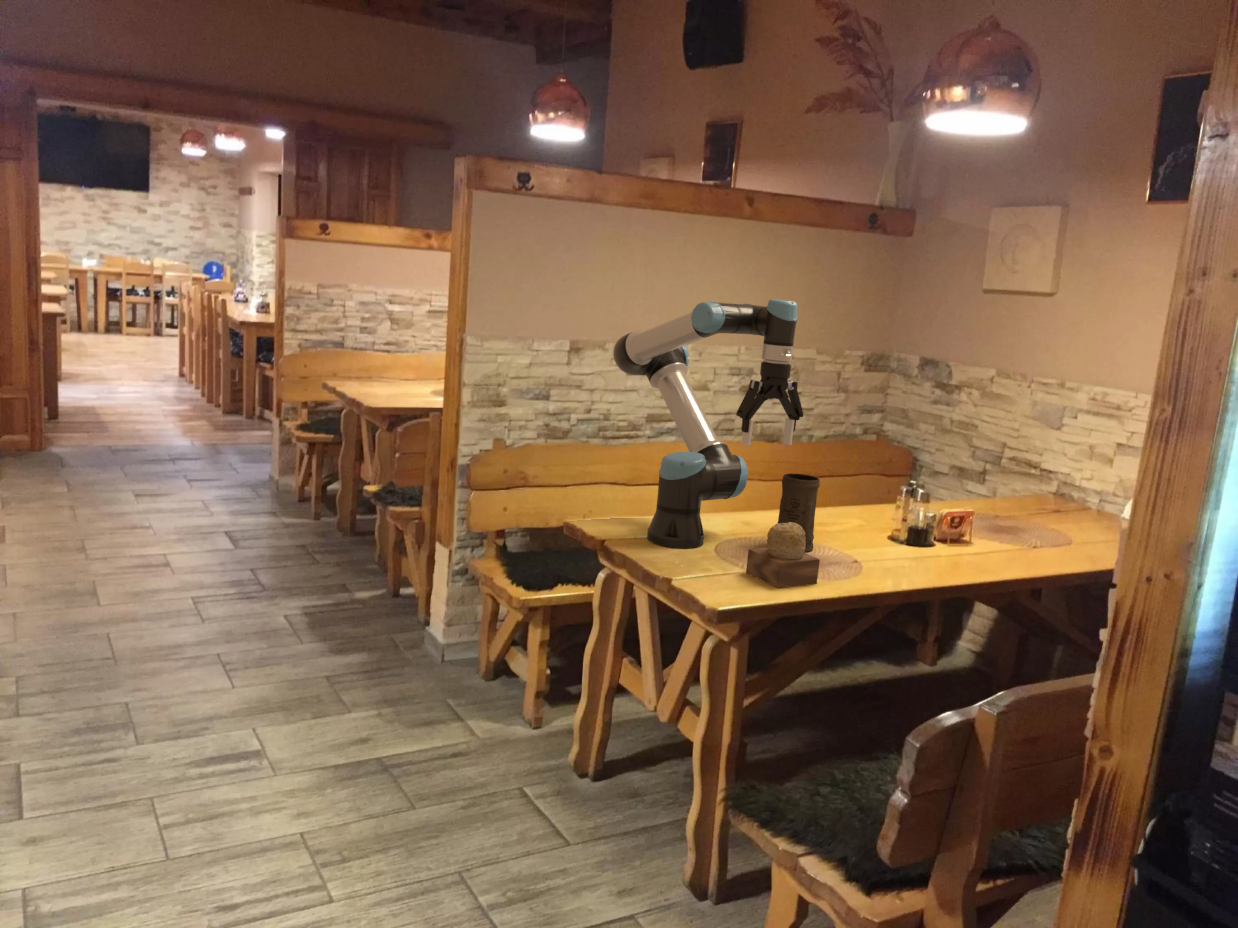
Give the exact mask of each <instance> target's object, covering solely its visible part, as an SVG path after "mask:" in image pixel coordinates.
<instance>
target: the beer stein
mask: <svg viewBox="0 0 1238 928" xmlns="http://www.w3.org/2000/svg"><path fill="white" fill-rule="evenodd" d="M820 486H821V483H820V478H819V477H817V476H813V475H811V474H801V473H784V474H783V476H782V479H781V489H782V490H781V498H780V503H779V511H778V518H777V523H788V522H792V523H796V524H798V525H800V526H801V527H802V528H803V530H804V532H805V537H806V546H805V551H804V553H809V552H811V551H813V550H814V543H813V541H814V539H815V535H814V531H815V529H814V528H815V516H816V508H817V507H816V506H817V500H818V497H817V496H818V491H819V488H820Z"/></svg>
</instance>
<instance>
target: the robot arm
mask: <svg viewBox="0 0 1238 928" xmlns="http://www.w3.org/2000/svg"><path fill="white" fill-rule="evenodd" d="M797 321H798V303H797V302H796V301H794V300H784V299H773V298H771V299H769V300H768V302H767V306H763V305H755V304H754V305H753V304H750V303H729V302H727V303H726V302H716V301H705V302H704V301H703V302H700V303H697V304H696V305H695V307H694V308H693V310H692V311H691V312H689V313H685V314H683V315H681V316H678V317H676V318H673V319H671V320H668V321H666V322H664V323H661V324H659V325H656V326H654V327H652V328H649V329H646V330H644V331H640V330H635V331H631V332H630V333H627V334H624V335H623V336H621V337H620V338H618V340H616V343H615V344H614V346H613V351H612V352H613V354H612V356H613V359H614V363H615V364H616V366H617V367H618V368H619V370H621V371H622V372H623V373H625V374H628V375H631V376H646V377H647V380H648V381H649V383H650V386H651V387H652V388H654V389H656V390H657V389H658V390H659V392H660V394H661V397H662V399H663V401H664V403H665V405H666V407H667V409H668V411H669V412H670V415H671V417H672V420H673V421H674V424H675V425H676V428H677V430H678V431H679V434H680V435H681V438H682V440H683V442H684V444H685V446H686V448H687V450H688V451H676V452H671V453H668V454H665V455H664V457H663V458H662V459H661V461H660V468H659V471H658V475H659V476H658V485H657V486H658V490H657V499H656V510H655V513H654V515H653V517H652V519H651V521H650V525H649V527H648V528H647V536H646V539H647V540H648V541H649V542H651V543H652V544H653V543H654V544H656V545H659V546H664V547H667V548H675V549H676V548H677V549H693V548H698V547H701V546H703V545H704V543H705V533H704V528H703V523H702V518H701V507H702V502H704V501H714V500H728V499H731V498H736V497H738V496H740V495H741V494H742V493H743V491H744V490H745V489H746V486H747V483H748V478H749V470H748V466H747V465H748V464H747V463H746V461H745V460H744V458H743V457H741V456H739V455H738V454H737V455H736V454H732V453H731V451H730V449H729V447H728V445H727V444H726V442H722V441H719V439H718V436H717V434H716V433H715V431H714V429H713V427H712V424H711V423H710V421H709V419H708V417H707V415H706V413H705V411H704V409H703V408H702V405H701V403H700V401H699V399H698V398H697V395H696V394H695V391H694V389H693V388H692V385H691V383H690V382H689V379H688V377H687V376H686V375H687V373H688V370H689V369H688V368H689V362H690V358H688V357H689V350H688V348H687V345H690V344H693V343H695V342H698V341H701V340H704V339H706V338H709V337H711V336H712V337H713V336H715V335H717V334H736V335H753V336H762V337H763V343H762V344H763V345H762V353H761V359H762V360H763V361H761V363H760V372H759V375H760V380H755V379H751V380H750V381H749V385H748V389H747V391H746V392H745V395H744V396H743V399H742V401H741V403H740V405H739V407H738V409H737V411H736V412H735V415H736V416H737V417H738V418H740V419H742V420H741V427H740V428H741V432H742V438H741V445H744V446H746V447H751V446H752V436H753V427H754V420H753V417H754V416H755V414H756V413H757V411H758V410H759V409H760V408H761V407H762V405H763V404H764V403H765V402H766V401H767V400H774V399H776V400H779V403H780V404H781V407H783V410H784V412H785V414H786V415H787V418H785V420H784V428H783V436H782V444H784V445H787V446H792V444H793V437H794V432H795V431H796V424H797V421H799V420H800V419H801V418H803V417H804V412H803V407H802V403H801V400H800V395H799V392H798V382H797V381H793V380H789V378H790V377H791V369H792V365H791V364H790V362H792V360H793V353H794V352H793V351H794V341H795V336H796V335H795V333H796V327H797Z"/></svg>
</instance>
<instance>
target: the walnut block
mask: <svg viewBox="0 0 1238 928" xmlns="http://www.w3.org/2000/svg"><path fill="white" fill-rule="evenodd" d="M747 551H748V552H747V558H746V559H747V560H746V567H745V568H746V570H745V573H746V574H747V573H748V574H747V575H749V574H750V576H751V575H752V577H754V578H756V577H757V578H756V579H758V578H759V579H758V580H760V579H761V580H760V581H762V580H763V581H762V582H764V581H765V582H764V583H766V582H767V583H766V584H768V583H769V585H770V584H771V585H770V586H772V585H773V586H772V587H774V586H775V587H774V588H776V587H777V589H781V588H780V587H785V588H787V587H786V586H793V587H799V586H798V585H801V586H807V584H809V585H815V584H817V583H818V577H819V569H820V560H821V559H820V558H818V557H815V556H812V555H811V554H808V553H807V552H804V555H803V557H802V558H801V559H783V558H778V557H774V556H772V555H770V554H769V553H768V546H767V547H758V548H757V547H755V548H748V550H747Z"/></svg>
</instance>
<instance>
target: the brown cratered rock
mask: <svg viewBox="0 0 1238 928" xmlns="http://www.w3.org/2000/svg"><path fill="white" fill-rule="evenodd" d="M766 536H767V539H766V541H767V547H768V553H769V554H770V555H772V556H774V557H778V558H783V559H801V558H802V557H803V555H804V553H805V552H804V551H805V546H806V537H805V532H804V530H803V528H802V527H801V526H800V525H798V524H796V523H792V522H788V523H778V522H777V523H776V524H774V525H773V526H772V527H770V528H769V530H768V532H767V535H766Z"/></svg>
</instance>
